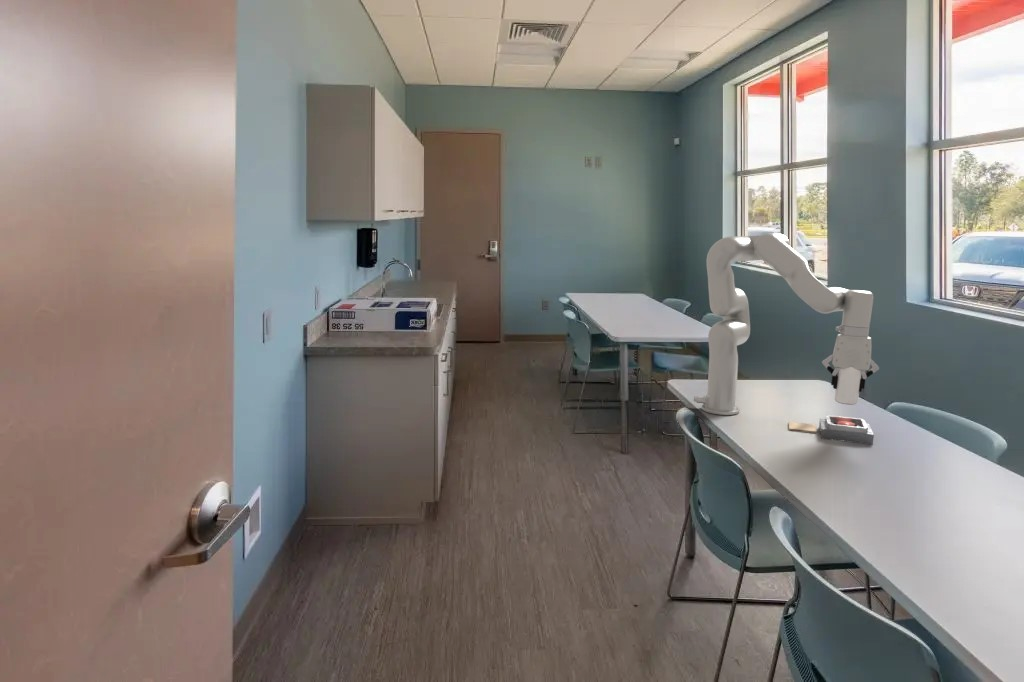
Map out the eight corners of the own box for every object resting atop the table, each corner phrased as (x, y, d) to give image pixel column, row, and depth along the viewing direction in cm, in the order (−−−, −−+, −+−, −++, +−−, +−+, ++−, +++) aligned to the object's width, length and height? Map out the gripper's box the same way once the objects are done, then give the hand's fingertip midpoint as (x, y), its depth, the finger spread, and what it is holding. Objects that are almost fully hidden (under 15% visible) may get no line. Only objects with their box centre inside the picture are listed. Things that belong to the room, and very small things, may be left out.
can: (852, 399, 206) (857, 362, 204) (861, 405, 200) (866, 366, 198) (831, 398, 207) (835, 361, 205) (838, 404, 201) (843, 365, 198)
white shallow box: (821, 438, 202) (822, 424, 201) (818, 427, 213) (820, 414, 212) (872, 444, 197) (874, 429, 196) (868, 432, 208) (869, 419, 207)
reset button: (837, 433, 203) (838, 424, 203) (835, 429, 208) (836, 420, 207) (854, 435, 202) (855, 426, 201) (853, 431, 206) (854, 422, 206)
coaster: (788, 430, 210) (789, 428, 210) (788, 423, 217) (788, 421, 217) (816, 433, 207) (816, 431, 207) (815, 426, 214) (815, 424, 214)
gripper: (823, 330, 199) (816, 388, 202) (889, 336, 193) (880, 396, 196) (822, 327, 206) (815, 383, 209) (885, 332, 200) (877, 390, 203)
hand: (847, 388), depth 203 cm, fingers closed on can, 6 cm apart
